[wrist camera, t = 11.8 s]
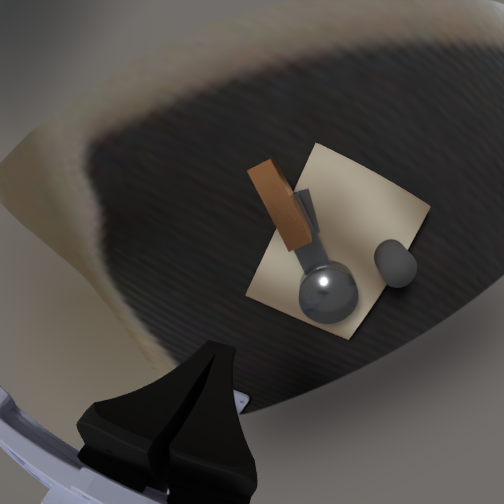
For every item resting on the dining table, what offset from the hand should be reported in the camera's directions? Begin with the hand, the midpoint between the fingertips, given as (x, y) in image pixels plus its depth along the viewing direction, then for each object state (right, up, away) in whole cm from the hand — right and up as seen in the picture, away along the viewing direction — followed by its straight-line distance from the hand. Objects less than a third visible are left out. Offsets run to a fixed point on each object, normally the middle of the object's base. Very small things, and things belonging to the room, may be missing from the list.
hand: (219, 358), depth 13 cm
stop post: (+11, +5, +7) cm, 14 cm away
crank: (+5, +6, +6) cm, 10 cm away
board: (+8, +5, +7) cm, 12 cm away
